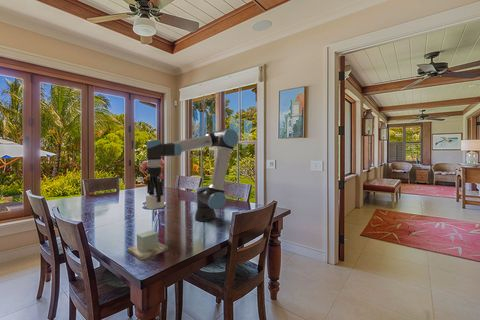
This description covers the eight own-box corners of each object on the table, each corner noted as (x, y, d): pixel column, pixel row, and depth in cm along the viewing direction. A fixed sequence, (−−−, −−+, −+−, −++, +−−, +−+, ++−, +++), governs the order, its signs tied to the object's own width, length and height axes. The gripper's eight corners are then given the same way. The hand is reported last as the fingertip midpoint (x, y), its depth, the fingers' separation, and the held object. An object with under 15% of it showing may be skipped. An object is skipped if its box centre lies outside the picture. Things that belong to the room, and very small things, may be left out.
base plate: (154, 242, 125) (154, 239, 125) (168, 249, 116) (168, 246, 115) (127, 251, 114) (127, 248, 114) (140, 260, 105) (140, 256, 105)
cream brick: (159, 205, 139) (158, 193, 139) (164, 206, 135) (164, 195, 135) (146, 207, 133) (145, 195, 133) (151, 209, 129) (151, 197, 129)
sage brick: (152, 243, 120) (152, 230, 119) (158, 246, 116) (158, 232, 115) (137, 248, 114) (136, 234, 113) (142, 252, 110) (142, 237, 109)
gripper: (140, 166, 136) (141, 205, 138) (156, 168, 124) (157, 210, 125) (152, 165, 142) (153, 202, 143) (169, 167, 130) (170, 208, 131)
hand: (155, 206), depth 134 cm, fingers closed on cream brick, 6 cm apart
